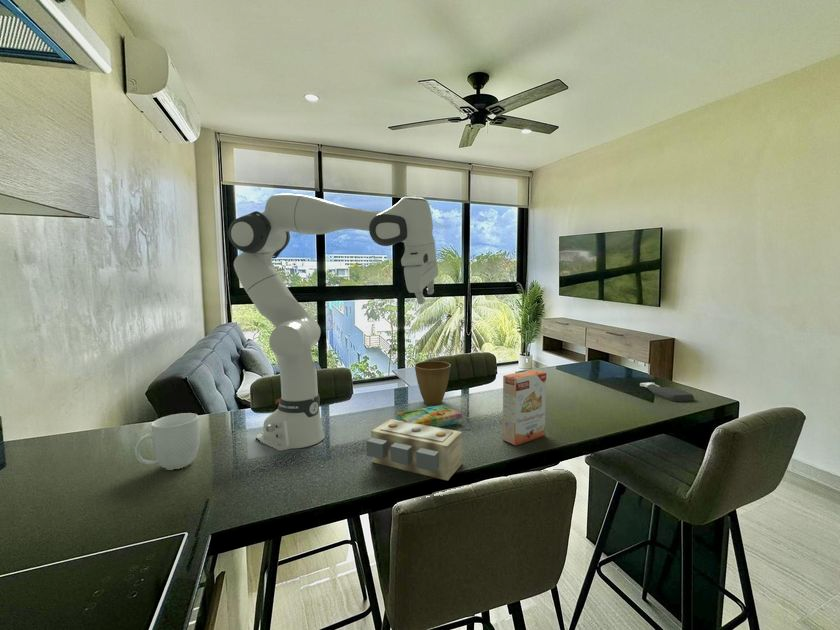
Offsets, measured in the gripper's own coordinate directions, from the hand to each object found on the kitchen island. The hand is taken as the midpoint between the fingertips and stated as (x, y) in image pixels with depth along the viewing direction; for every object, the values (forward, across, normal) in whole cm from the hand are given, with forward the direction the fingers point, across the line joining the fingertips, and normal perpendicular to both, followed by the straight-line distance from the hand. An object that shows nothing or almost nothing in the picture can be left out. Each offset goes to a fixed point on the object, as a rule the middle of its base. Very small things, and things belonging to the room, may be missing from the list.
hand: (426, 298), depth 115 cm
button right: (+33, +34, +7) cm, 48 cm away
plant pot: (+53, -24, -11) cm, 60 cm away
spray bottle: (+66, -63, +82) cm, 123 cm away
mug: (+33, +47, -63) cm, 85 cm away
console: (+39, +26, +1) cm, 47 cm away
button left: (+34, +32, -8) cm, 47 cm away
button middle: (+33, +33, -1) cm, 47 cm away
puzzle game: (+48, -2, -5) cm, 48 cm away
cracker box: (+47, +2, +28) cm, 55 cm away
